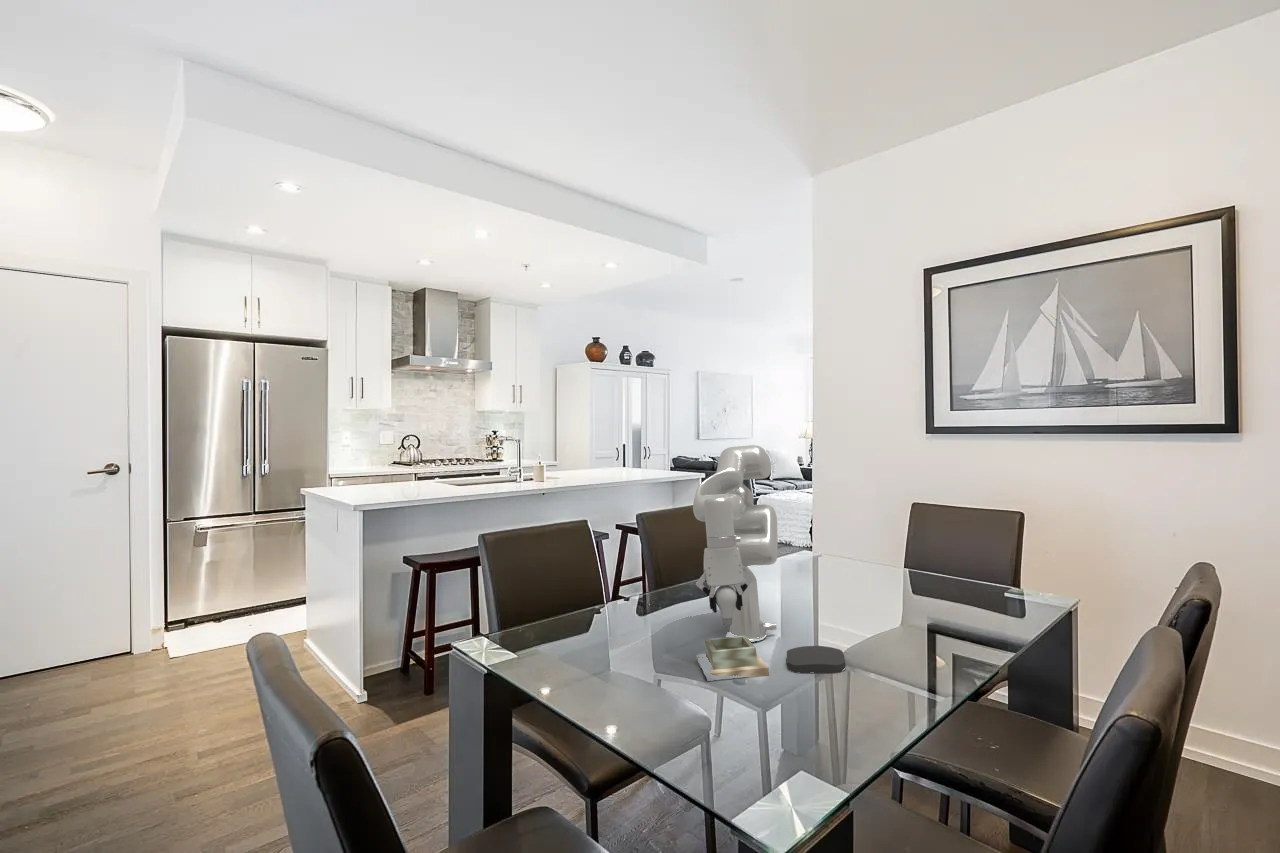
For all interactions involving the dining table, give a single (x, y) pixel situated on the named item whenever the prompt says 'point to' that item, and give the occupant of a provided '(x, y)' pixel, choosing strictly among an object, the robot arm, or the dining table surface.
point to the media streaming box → (815, 659)
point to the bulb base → (734, 657)
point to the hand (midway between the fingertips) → (726, 609)
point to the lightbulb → (726, 603)
